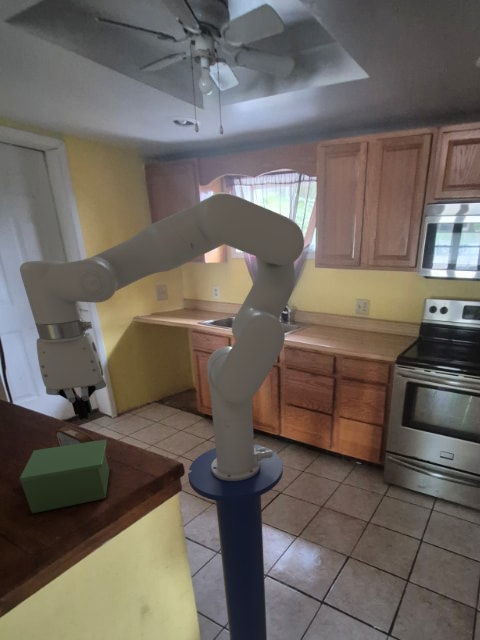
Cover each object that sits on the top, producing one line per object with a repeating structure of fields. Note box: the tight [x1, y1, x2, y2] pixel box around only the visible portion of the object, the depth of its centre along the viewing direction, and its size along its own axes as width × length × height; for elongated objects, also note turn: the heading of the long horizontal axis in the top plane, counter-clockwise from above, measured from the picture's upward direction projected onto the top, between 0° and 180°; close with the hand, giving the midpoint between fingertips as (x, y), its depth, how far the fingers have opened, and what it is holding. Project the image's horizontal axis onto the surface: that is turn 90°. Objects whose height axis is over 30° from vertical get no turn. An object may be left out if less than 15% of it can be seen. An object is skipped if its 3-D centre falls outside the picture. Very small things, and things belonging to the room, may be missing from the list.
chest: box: [20, 453, 110, 514], centre depth 81 cm, size 14×11×8 cm
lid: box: [19, 438, 108, 483], centre depth 79 cm, size 14×11×1 cm
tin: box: [54, 424, 95, 447], centre depth 92 cm, size 15×3×8 cm, turn 59°
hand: (84, 416), depth 78 cm, fingers closed
